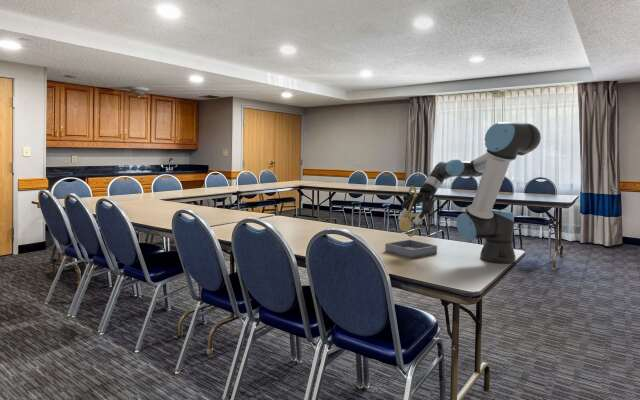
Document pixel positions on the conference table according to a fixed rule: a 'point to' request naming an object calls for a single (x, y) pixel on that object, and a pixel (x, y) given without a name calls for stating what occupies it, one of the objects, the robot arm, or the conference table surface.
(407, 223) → the wall sconce
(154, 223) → the conference table surface
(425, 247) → the tray
